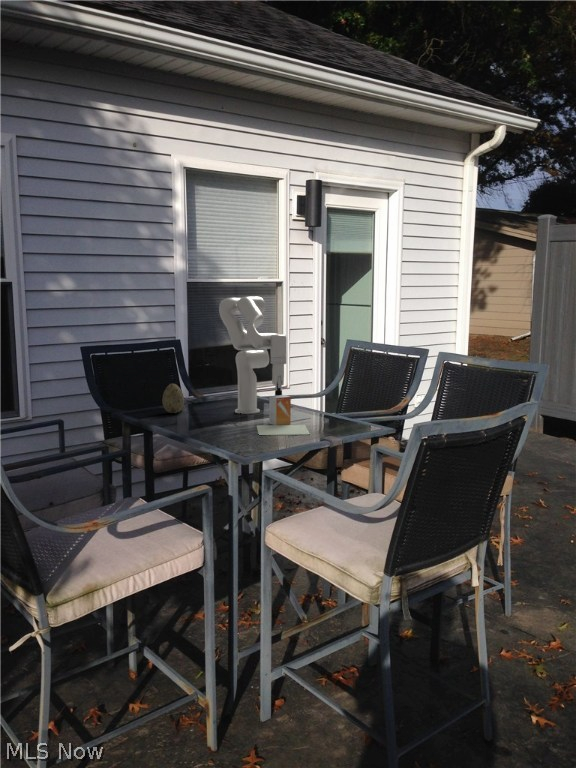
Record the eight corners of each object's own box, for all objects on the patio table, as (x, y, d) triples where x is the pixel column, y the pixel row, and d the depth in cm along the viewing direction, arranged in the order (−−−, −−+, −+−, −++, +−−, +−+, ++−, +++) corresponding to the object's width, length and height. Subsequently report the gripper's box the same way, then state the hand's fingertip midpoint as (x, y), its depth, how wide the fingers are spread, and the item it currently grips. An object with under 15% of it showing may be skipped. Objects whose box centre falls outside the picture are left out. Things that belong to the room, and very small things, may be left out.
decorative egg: (162, 411, 344) (161, 382, 342) (183, 411, 346) (183, 382, 344) (162, 415, 333) (162, 385, 331) (184, 414, 335) (184, 384, 333)
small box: (276, 426, 309) (276, 397, 307) (268, 423, 314) (268, 396, 312) (291, 424, 313) (291, 396, 312) (283, 422, 319) (283, 394, 317)
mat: (256, 426, 308) (256, 425, 308) (304, 425, 310) (304, 424, 310) (258, 435, 288) (258, 434, 288) (310, 434, 290) (310, 433, 290)
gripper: (269, 359, 326) (269, 396, 328) (271, 362, 311) (271, 401, 314) (285, 359, 327) (285, 396, 329) (287, 362, 312) (287, 401, 314)
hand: (278, 399), depth 321 cm, fingers closed
